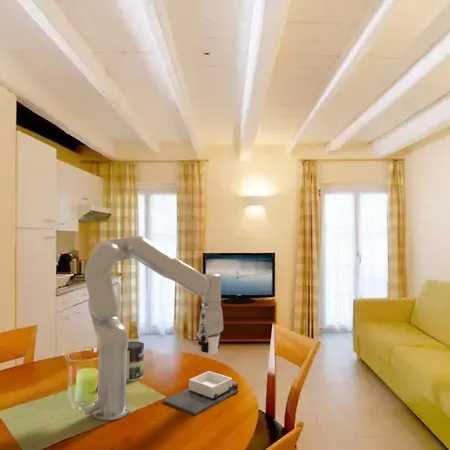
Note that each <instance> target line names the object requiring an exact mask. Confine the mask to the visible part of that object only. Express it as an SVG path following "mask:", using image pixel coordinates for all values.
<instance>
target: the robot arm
mask: <svg viewBox="0 0 450 450" xmlns="http://www.w3.org/2000/svg"><path fill="white" fill-rule="evenodd" d="M130 259H134V260H136V261H138V262H139V263H141V265H144V266H145V267H146V268H149V269H150V270H152V271H153V272H155V273H156V274H158V275H160V276H162V277H164V278H166V279H169V280H171V281H173V282H175V283H177V284H179V285H181V286H182V288H183V289H184V291H186V292H188V293H191V294H194V295H196V296H201V309H200V315H199V323H198V326H199V327H198V330H197V332H196V336H197V338H198V339H199V341H200V343H201V344H200V351H201V352H202V353H203V352H205V353H208V342H207V341H208V337H209V336H211V335H214V334H219V340H220V339H221V335H222V334H223V333H222V332H223V331H224V329H225V328H224V315H223V309H222V306H221V304H222V275H220V274H219V273H203V274H202V273H200V272H199V271H198V270H196V269H195V268H193V267H191V266H190V265H188V264H186V263H185V262H183V261H181V260H180V259H178V258H177V257H175V256H174V255H172V254H171V253H169V252H168V251H166V250H164V249H163V248H161V247H160V246H158V245H157V244H155V243H154V242H152V241H151V240H149V239H148V238H146V237H144V236H141V235H133V236H126V237H122V238H115V239H110V240H109V239H108V240H103V241H99V242H98V243H96V244H95V245H94V246H93V248H92V252H91V255H90V257H89V259H88V260H87V262H86V265H85V268H84V278H85V279H84V280H85V284H86V289H87V292H88V293H87V294H88V297H89V298H88V301H87V305H88V306H87V307H88V310H89V314H90V318H91V321H92V325H93V328H94V332H95V335H96V337H97V340H98V341H99V350H98V367H97V369H98V371H97V373H98V374H97V400H96V401H94V405H92V406H91V407H88V408H86V409H84V410H83V412H84V415H85V416H88V415H91V414H92V416H93V418H95V419H97V420H100V421H113V420H114V421H115V420H118V419H119V420H120V419H122V418H123V417H125V416H127V415H128V414H129V413H130V411H131V406H130V405H129V403H128V402H127V401H126V399H127V381H126V362H127V348H128V342H129V337H130V336H129V332H128V329H127V327H126V326H125V325H124V323H122V322H121V320H120V316H119V314H118V311H119V307H120V306H119V301H118V299H117V295H116V292H115V288H114V285H113V280H112V271H113V267H115V265H116V264H117V263H118V262H120V261H125V260H130ZM204 335H205V336H206V337H205V338H204ZM219 349H220V341H219V342H218V350H219Z"/></svg>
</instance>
